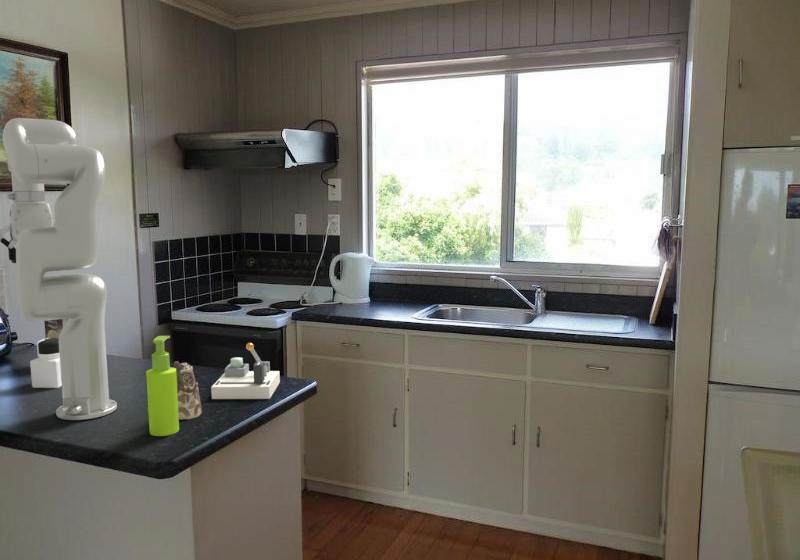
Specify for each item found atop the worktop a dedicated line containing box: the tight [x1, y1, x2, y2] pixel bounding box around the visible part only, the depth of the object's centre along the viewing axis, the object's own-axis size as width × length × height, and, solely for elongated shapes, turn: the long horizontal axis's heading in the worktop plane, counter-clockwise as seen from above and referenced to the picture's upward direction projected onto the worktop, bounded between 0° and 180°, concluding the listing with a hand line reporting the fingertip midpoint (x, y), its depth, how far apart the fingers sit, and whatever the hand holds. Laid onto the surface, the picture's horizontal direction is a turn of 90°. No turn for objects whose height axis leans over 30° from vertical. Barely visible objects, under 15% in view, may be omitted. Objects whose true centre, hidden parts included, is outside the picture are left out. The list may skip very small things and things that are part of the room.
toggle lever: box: [245, 342, 268, 370], centre depth 173 cm, size 3×2×9 cm, turn 0°
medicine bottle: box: [29, 338, 62, 389], centre depth 174 cm, size 7×7×12 cm
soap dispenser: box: [145, 335, 180, 437], centre depth 140 cm, size 6×7×20 cm
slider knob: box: [253, 361, 265, 383], centre depth 165 cm, size 3×2×4 cm
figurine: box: [173, 360, 203, 420], centre depth 151 cm, size 7×7×12 cm
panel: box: [210, 361, 281, 400], centre depth 169 cm, size 14×14×6 cm
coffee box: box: [43, 319, 69, 339], centre depth 193 cm, size 9×6×16 cm
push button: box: [230, 356, 244, 368], centre depth 173 cm, size 3×3×2 cm
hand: (34, 261), depth 183 cm, fingers open, 9 cm apart
